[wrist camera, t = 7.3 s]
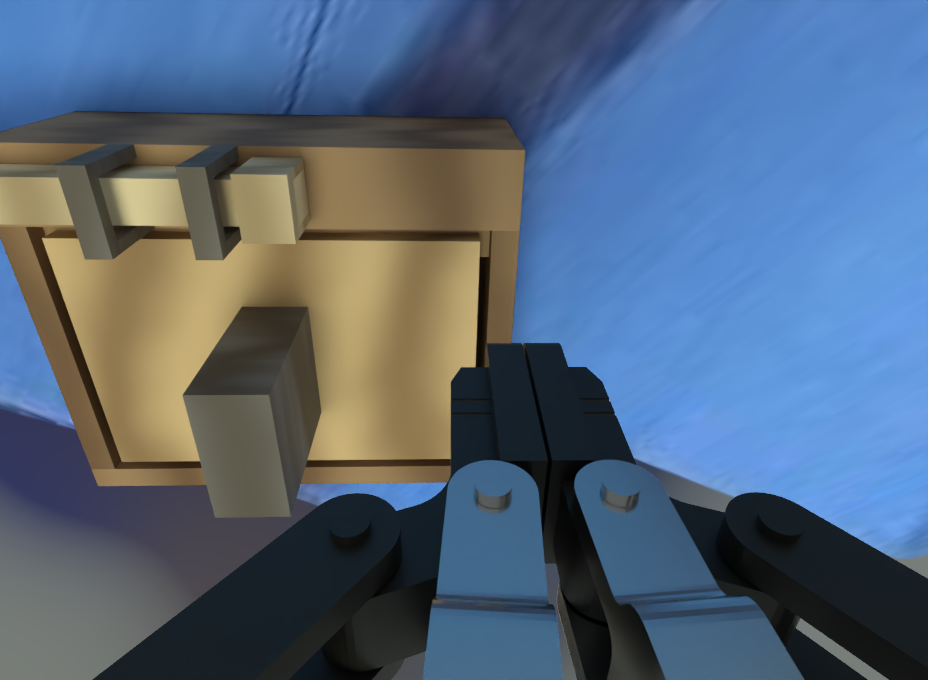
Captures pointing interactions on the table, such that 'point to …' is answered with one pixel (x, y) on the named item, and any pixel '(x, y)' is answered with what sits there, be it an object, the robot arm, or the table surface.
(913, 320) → the table surface
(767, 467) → the table surface
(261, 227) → the yellow latch bar
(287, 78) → the table surface
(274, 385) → the lid
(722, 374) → the table surface
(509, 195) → the wooden box
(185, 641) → the robot arm
